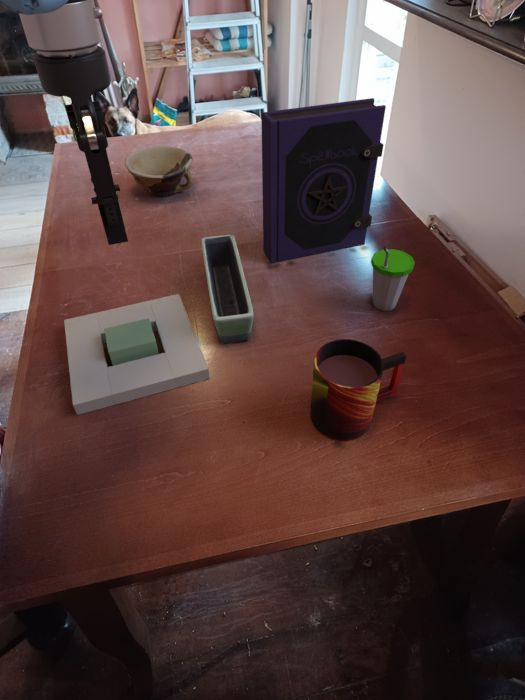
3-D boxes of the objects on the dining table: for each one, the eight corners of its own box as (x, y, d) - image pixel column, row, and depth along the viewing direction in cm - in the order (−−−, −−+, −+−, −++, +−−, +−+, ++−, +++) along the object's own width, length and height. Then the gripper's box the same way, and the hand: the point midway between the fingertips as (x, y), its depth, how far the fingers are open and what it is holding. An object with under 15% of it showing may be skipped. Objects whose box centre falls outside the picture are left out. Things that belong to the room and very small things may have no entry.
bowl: (119, 203, 128) (111, 168, 121) (150, 175, 140) (143, 141, 133) (180, 211, 124) (174, 176, 117) (205, 181, 136) (202, 148, 129)
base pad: (77, 415, 76) (72, 405, 74) (67, 329, 91) (63, 319, 89) (210, 378, 81) (208, 368, 80) (180, 303, 96) (178, 293, 94)
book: (271, 264, 106) (271, 122, 85) (262, 249, 110) (260, 111, 89) (367, 245, 111) (389, 106, 90) (355, 231, 115) (373, 96, 94)
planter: (255, 345, 87) (254, 314, 82) (216, 350, 86) (213, 320, 81) (235, 261, 107) (233, 233, 102) (203, 265, 106) (200, 236, 101)
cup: (392, 289, 99) (407, 223, 88) (411, 312, 93) (428, 245, 83) (358, 296, 97) (368, 230, 87) (374, 320, 92) (387, 253, 81)
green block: (114, 370, 83) (108, 352, 80) (109, 346, 87) (103, 328, 84) (160, 359, 85) (155, 340, 82) (153, 336, 89) (148, 318, 86)
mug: (396, 397, 78) (411, 343, 69) (349, 452, 70) (359, 399, 62) (346, 369, 82) (355, 316, 74) (297, 418, 75) (300, 365, 67)
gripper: (111, 58, 48) (152, 259, 64) (96, 32, 56) (136, 214, 73) (32, 67, 46) (95, 271, 62) (30, 39, 55) (86, 224, 71)
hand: (117, 240), depth 68 cm, fingers closed
